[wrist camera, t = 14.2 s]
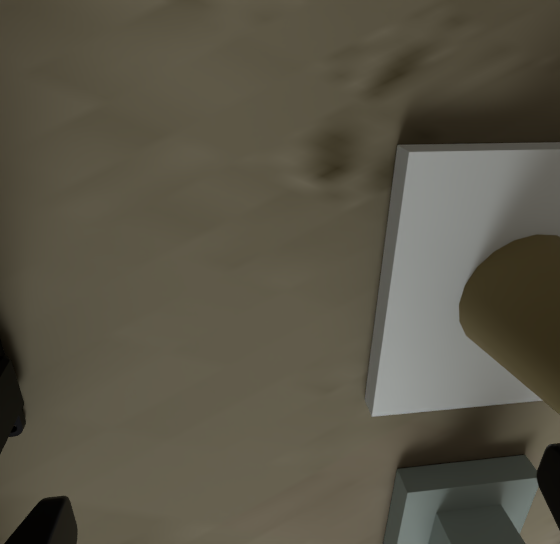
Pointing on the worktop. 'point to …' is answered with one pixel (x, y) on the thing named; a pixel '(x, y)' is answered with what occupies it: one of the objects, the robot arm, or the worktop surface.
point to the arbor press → (454, 326)
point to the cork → (519, 312)
